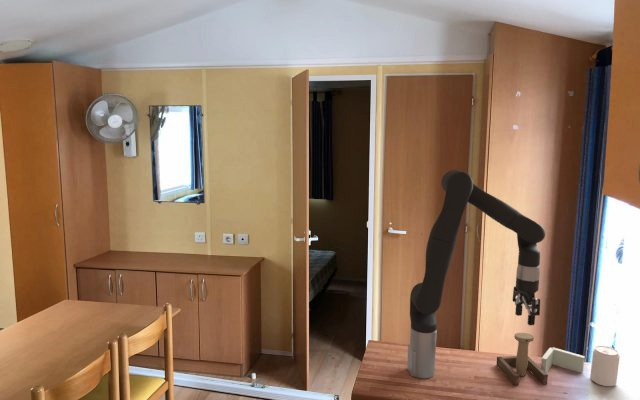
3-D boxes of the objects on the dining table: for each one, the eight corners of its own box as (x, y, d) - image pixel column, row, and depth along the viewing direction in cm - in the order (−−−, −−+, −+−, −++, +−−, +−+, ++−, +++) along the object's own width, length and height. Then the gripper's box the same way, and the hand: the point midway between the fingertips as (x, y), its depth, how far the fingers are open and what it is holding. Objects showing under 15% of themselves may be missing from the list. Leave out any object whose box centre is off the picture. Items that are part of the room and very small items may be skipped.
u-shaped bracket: (514, 385, 170) (515, 375, 169) (496, 365, 184) (497, 356, 183) (547, 383, 171) (547, 374, 171) (526, 364, 185) (527, 355, 184)
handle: (532, 377, 175) (536, 338, 173) (514, 377, 175) (518, 338, 173) (526, 370, 180) (530, 332, 177) (509, 370, 180) (512, 332, 177)
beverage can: (618, 381, 173) (622, 350, 171) (613, 390, 168) (616, 358, 166) (593, 373, 179) (596, 342, 177) (587, 381, 173) (590, 350, 171)
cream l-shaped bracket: (542, 374, 177) (543, 359, 176) (529, 362, 186) (530, 348, 185) (585, 373, 179) (586, 357, 178) (570, 361, 188) (572, 346, 187)
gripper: (507, 270, 179) (505, 312, 181) (528, 283, 165) (525, 328, 167) (527, 270, 179) (524, 311, 182) (549, 282, 165) (545, 327, 168)
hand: (524, 319), depth 175 cm, fingers open, 8 cm apart
